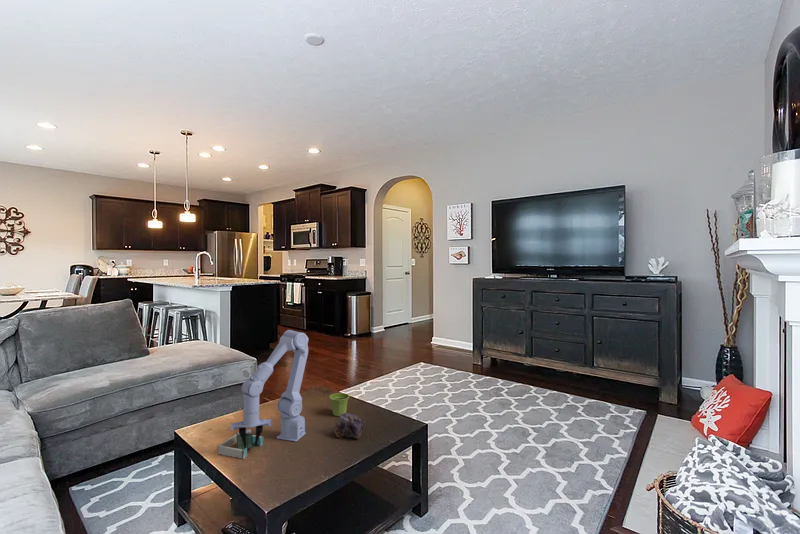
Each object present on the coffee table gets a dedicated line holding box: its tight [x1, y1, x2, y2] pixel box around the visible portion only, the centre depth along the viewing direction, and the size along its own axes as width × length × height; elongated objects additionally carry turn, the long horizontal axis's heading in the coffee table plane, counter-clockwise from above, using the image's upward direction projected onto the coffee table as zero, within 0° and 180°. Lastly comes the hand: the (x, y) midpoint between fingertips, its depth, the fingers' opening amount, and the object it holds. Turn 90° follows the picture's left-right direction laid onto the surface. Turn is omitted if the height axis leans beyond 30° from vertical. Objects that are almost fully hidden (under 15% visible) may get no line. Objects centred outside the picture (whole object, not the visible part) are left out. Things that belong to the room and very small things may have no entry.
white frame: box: [216, 434, 264, 460], centre depth 156 cm, size 12×12×3 cm
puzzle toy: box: [235, 428, 254, 450], centre depth 157 cm, size 6×6×6 cm
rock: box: [333, 412, 365, 440], centre depth 168 cm, size 12×9×10 cm
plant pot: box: [329, 392, 350, 417], centre depth 190 cm, size 9×9×9 cm
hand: (250, 445), depth 153 cm, fingers open, 3 cm apart
